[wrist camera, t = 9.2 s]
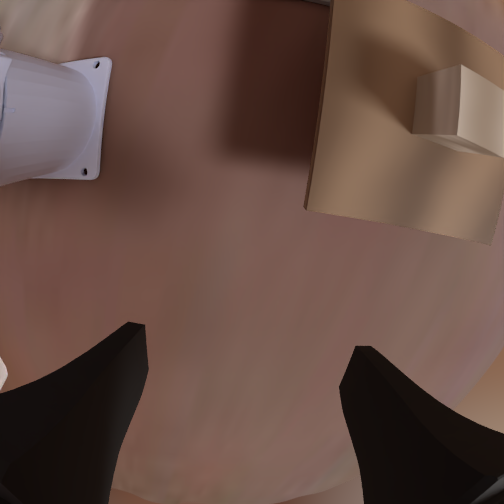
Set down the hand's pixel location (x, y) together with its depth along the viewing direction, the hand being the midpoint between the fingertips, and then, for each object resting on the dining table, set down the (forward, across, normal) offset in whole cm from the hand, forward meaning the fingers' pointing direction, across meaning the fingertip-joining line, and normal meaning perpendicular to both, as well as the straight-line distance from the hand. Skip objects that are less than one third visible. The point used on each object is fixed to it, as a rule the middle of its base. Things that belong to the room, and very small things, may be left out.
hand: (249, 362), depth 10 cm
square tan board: (+6, -8, -10) cm, 14 cm away
